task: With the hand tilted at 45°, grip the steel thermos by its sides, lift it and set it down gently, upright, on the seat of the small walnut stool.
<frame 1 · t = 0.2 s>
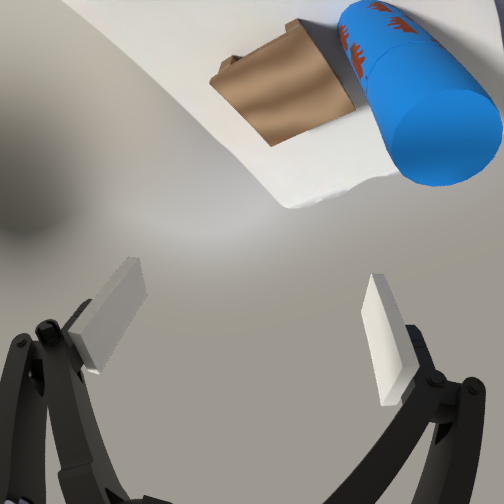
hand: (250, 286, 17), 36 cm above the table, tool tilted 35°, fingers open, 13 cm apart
stool: (283, 71, 38), on the table
thermos: (373, 30, 30), on the table
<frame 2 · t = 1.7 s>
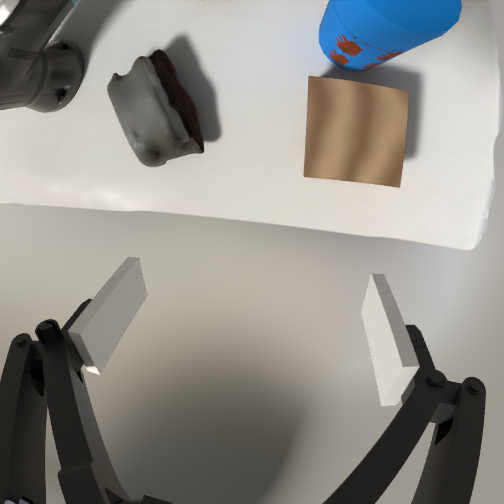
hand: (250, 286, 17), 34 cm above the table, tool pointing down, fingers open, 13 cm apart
stool: (348, 129, 42), on the table
rock: (164, 107, 44), on the table
thermos: (351, 41, 36), on the table
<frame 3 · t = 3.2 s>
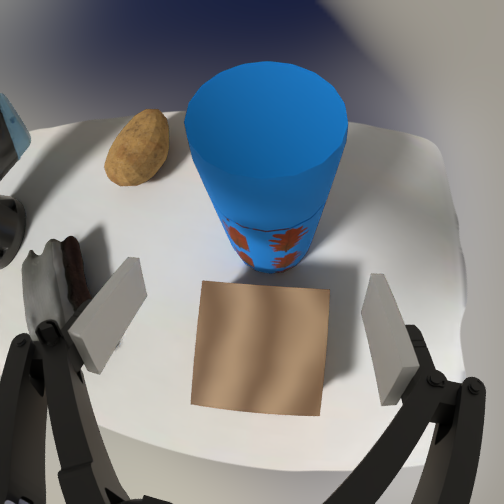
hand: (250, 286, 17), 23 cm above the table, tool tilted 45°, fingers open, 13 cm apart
stool: (262, 347, 37), on the table
potato: (149, 162, 47), on the table
rock: (74, 302, 41), on the table
thermos: (271, 236, 42), on the table
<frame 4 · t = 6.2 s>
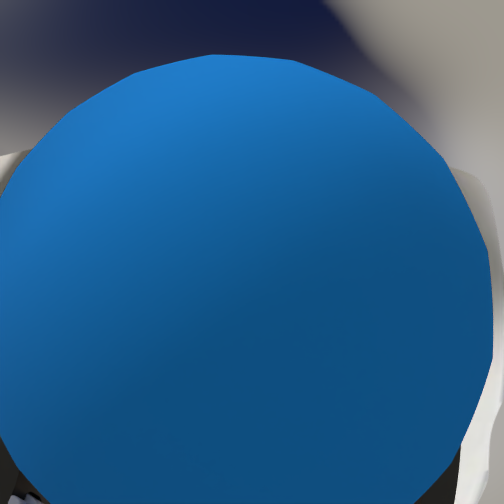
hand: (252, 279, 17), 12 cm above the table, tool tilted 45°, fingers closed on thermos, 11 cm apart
thermos: (259, 333, 28), on the table, touching gripper
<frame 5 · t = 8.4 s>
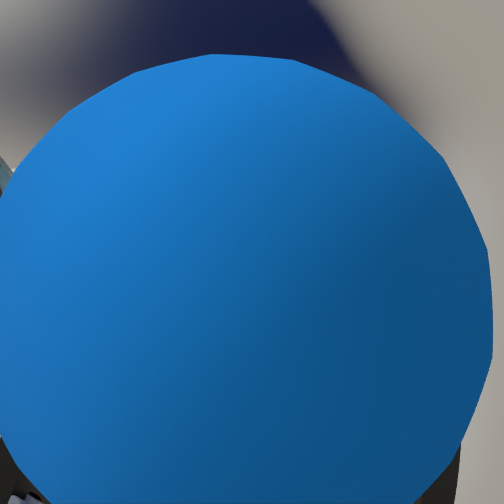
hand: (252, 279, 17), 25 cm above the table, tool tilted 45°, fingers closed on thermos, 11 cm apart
thermos: (259, 332, 28), point 13 cm above the table, touching gripper
when the fingers open (21 cm above the table, at t = 10.7 s): thermos drops 2 cm, resting on stool.
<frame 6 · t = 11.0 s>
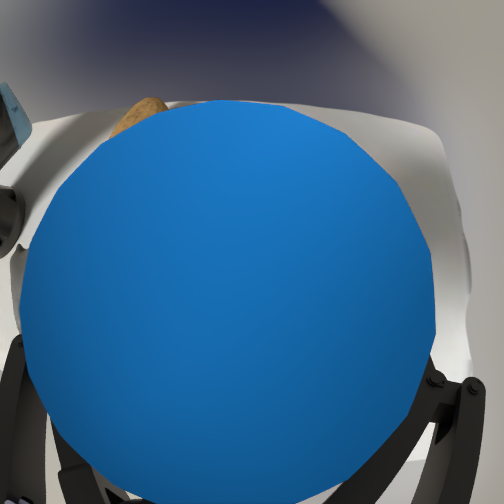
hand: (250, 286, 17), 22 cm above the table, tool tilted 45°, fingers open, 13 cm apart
potato: (149, 150, 46), on the table
rock: (62, 295, 41), on the table
thermos: (259, 333, 30), point 7 cm above the table, touching stool
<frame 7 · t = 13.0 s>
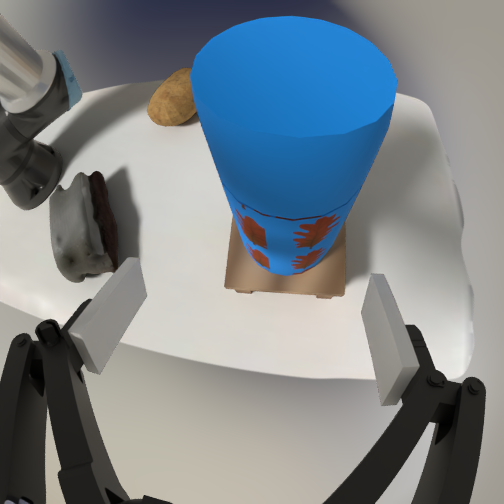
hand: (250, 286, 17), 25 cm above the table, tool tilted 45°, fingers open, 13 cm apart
stool: (287, 250, 43), on the table
potato: (183, 111, 53), on the table
rock: (96, 232, 47), on the table
thermos: (287, 233, 37), point 7 cm above the table, touching stool
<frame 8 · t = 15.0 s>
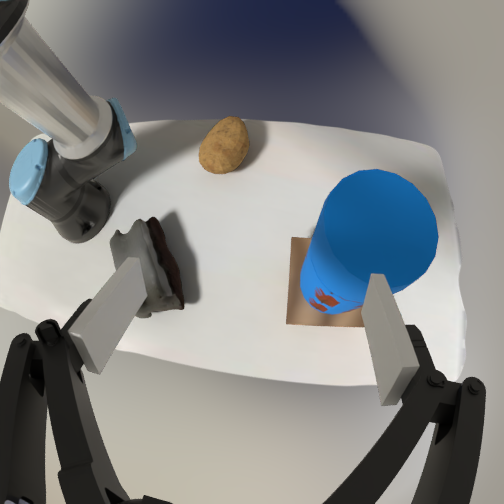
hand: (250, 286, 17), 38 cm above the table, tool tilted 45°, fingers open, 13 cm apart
stool: (326, 288, 53), on the table
potato: (228, 157, 63), on the table
rock: (154, 271, 57), on the table
thermos: (332, 281, 47), point 7 cm above the table, touching stool
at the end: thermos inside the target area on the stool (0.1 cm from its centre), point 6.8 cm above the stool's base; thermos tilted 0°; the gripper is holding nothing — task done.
